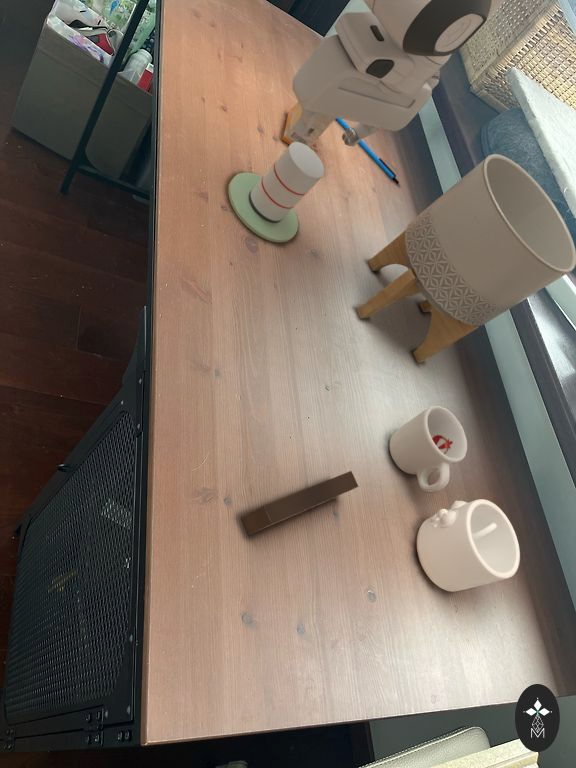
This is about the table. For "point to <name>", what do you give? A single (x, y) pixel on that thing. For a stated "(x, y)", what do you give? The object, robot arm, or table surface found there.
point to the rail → (298, 502)
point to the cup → (429, 446)
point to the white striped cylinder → (286, 182)
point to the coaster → (249, 217)
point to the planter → (476, 252)
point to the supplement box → (319, 125)
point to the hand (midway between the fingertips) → (324, 137)
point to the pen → (371, 154)
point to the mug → (468, 546)
